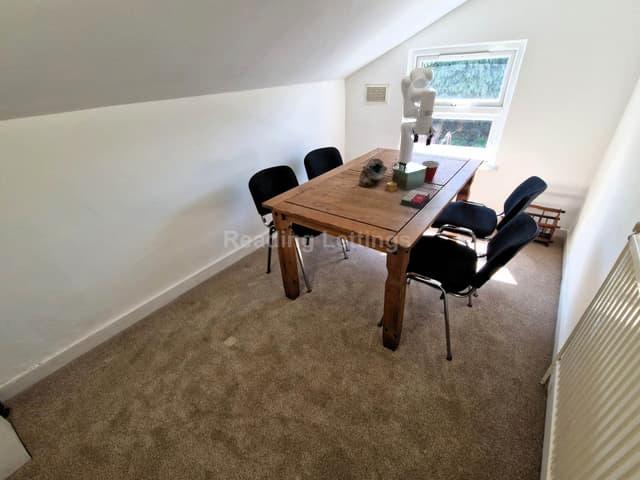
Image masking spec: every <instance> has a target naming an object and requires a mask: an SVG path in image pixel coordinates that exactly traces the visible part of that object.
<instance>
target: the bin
mask: <svg viewBox="0 0 640 480" xmlns="http://www.w3.org/2000/svg"><path fill="white" fill-rule="evenodd" d="M425 172H426V169H423V170H420V171H416V172H413V173H410V174H405V173H402V172H400V171H397V170H394V169H392V178H391V182H394V183H396V184H397V186H396V188H399V189H401V190H403V191H409V190H410V191H411V190H414V189H416V188H419V187H422V186H424V183H425V181H424V179H425Z"/></svg>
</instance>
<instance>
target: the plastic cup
mask: <svg viewBox="0 0 640 480" xmlns="http://www.w3.org/2000/svg"><path fill="white" fill-rule="evenodd" d="M421 166H423V167H426V172H425V179H424V183H432V182H433V181H434V178H435V176H436V173H437V170H438V168H439V167H440V162H438V161H436V160H423V161H422V162H421Z"/></svg>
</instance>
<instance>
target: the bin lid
mask: <svg viewBox="0 0 640 480" xmlns="http://www.w3.org/2000/svg"><path fill="white" fill-rule="evenodd" d="M393 169H394V170H397V171H400V172H402V173H405V174H410V173H413V172H416V171H420V170H423V169H426V167H423V165H420V164H418V163H414V162H412V163H408V164H406V163H403V162H399V166H397V165H396V166H394V167H392V170H393Z"/></svg>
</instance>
